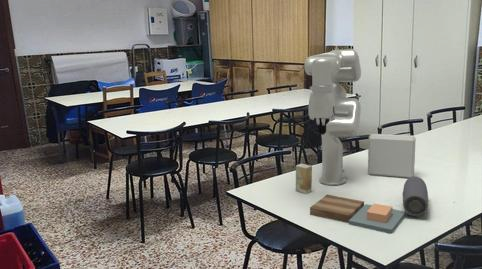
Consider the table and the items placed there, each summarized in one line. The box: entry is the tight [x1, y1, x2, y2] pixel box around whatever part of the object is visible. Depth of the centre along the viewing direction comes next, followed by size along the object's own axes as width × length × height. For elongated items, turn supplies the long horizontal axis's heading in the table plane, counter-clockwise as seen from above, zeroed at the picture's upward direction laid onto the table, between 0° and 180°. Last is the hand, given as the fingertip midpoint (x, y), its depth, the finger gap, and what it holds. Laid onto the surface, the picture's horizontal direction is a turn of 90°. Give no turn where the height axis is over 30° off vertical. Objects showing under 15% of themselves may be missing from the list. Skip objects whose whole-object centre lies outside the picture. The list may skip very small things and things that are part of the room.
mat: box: [348, 203, 407, 234], centre depth 161 cm, size 18×16×2 cm
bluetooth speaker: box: [402, 176, 429, 217], centre depth 169 cm, size 23×9×10 cm, turn 159°
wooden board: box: [309, 194, 365, 224], centre depth 170 cm, size 16×16×3 cm
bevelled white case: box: [367, 133, 417, 179], centre depth 208 cm, size 21×8×20 cm, turn 65°
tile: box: [367, 203, 393, 223], centre depth 160 cm, size 9×7×3 cm
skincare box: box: [295, 163, 313, 195], centre depth 193 cm, size 6×4×12 cm
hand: (322, 133), depth 176 cm, fingers closed
